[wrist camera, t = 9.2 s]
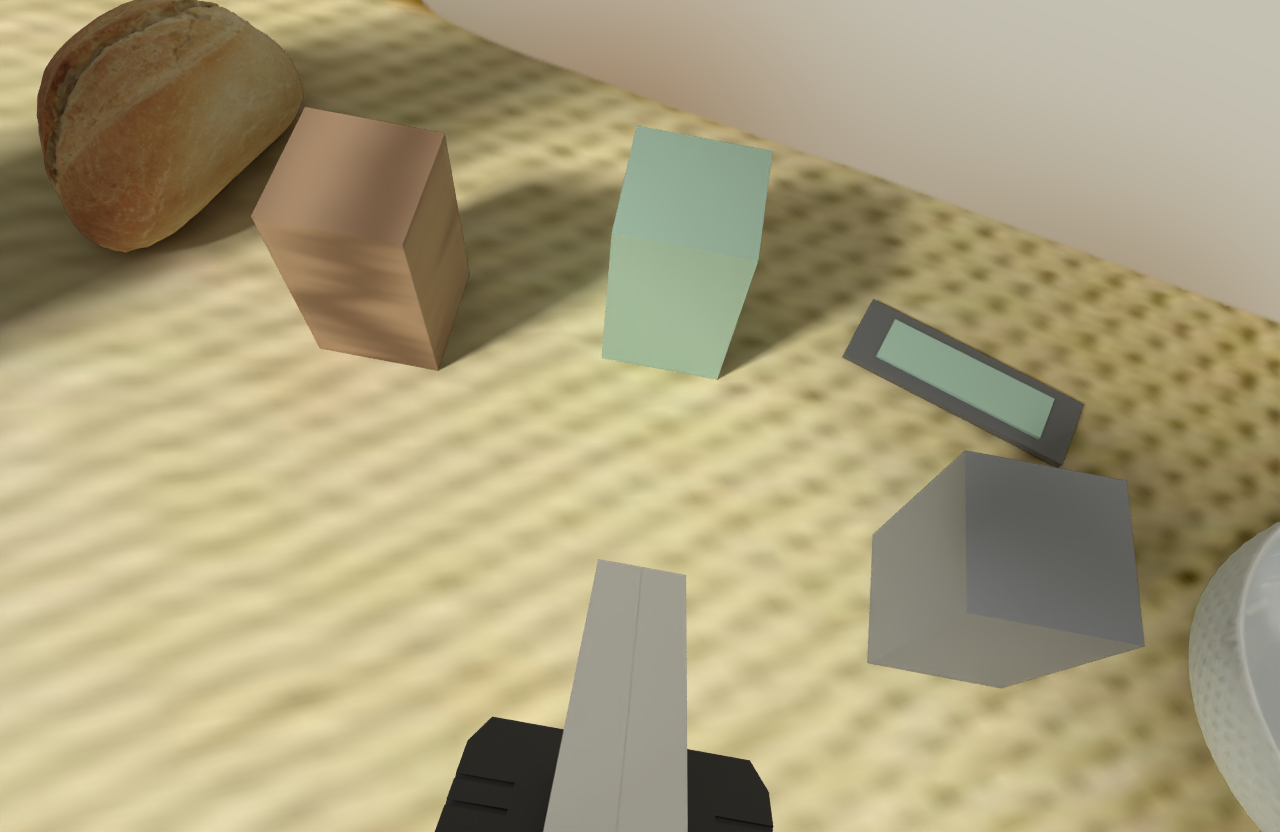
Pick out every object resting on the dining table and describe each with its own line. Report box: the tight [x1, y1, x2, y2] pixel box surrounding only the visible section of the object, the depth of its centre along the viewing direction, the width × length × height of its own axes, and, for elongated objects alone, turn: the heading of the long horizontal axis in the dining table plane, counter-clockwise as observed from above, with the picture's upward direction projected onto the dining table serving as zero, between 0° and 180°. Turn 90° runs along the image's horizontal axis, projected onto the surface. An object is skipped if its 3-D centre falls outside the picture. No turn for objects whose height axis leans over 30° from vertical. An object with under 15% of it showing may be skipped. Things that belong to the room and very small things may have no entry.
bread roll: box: [37, 0, 304, 253], centre depth 42 cm, size 10×15×8 cm, turn 157°
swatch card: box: [843, 299, 1084, 468], centre depth 43 cm, size 12×4×1 cm, turn 60°
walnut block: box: [251, 107, 470, 371], centre depth 38 cm, size 6×6×10 cm
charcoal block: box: [867, 450, 1145, 688], centre depth 33 cm, size 6×6×10 cm
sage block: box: [602, 126, 772, 380], centre depth 39 cm, size 6×6×10 cm
